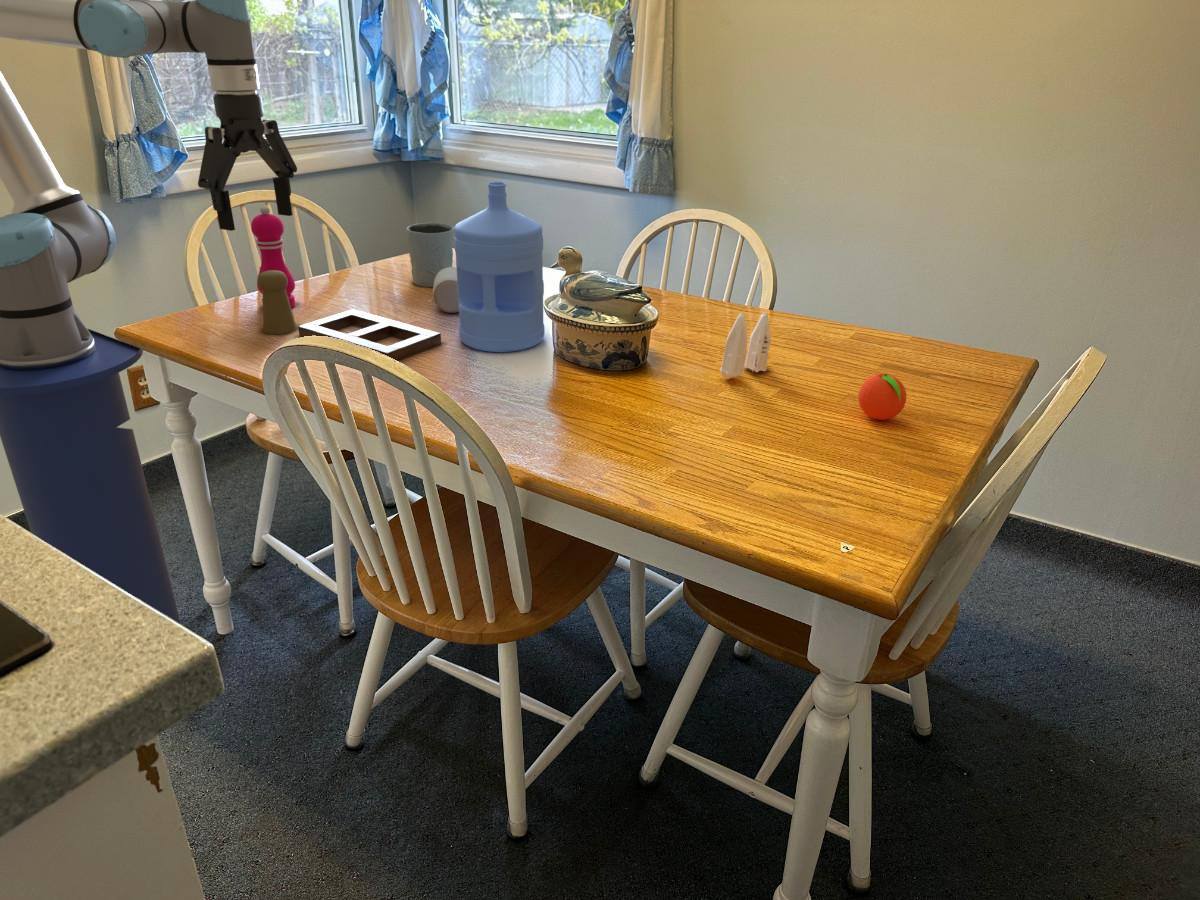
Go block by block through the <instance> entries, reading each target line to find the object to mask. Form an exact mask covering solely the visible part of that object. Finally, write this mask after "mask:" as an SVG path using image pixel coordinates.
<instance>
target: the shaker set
mask: <svg viewBox="0 0 1200 900" xmlns="http://www.w3.org/2000/svg"><path fill="white" fill-rule="evenodd" d="M749 338H750V339H749V343H748V332H747V323H746V315H745V313H743V312H740V313H739V314H738V315H737V317H736V320H735V322H734V323H733V325H732V328H731V329H730V331H729V333H728V335H727V337H726V341H725V347H724V353H723V357H722V361H721V366H720V368H719V371H720V373H721V375H722V376H723V377H724V379H725V380H729V379H733V378H735V377H738V376H741V375H743V374H745V371H744V369H749V370H751V371H752V373H754V372H755V373H759V372H760V371H762V372H766V371H768V370H767V367H768V359H769V353H770V347H771V341H772V339H771V329H770V321H769V314H768V312H766V311H764V312H763V313H762V314H761V315H760V317H759V319H758V321H757V322H756V325H755V327H754V328H753V331H752V332H751V334H750V337H749ZM747 348H748V349H747Z"/></svg>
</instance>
